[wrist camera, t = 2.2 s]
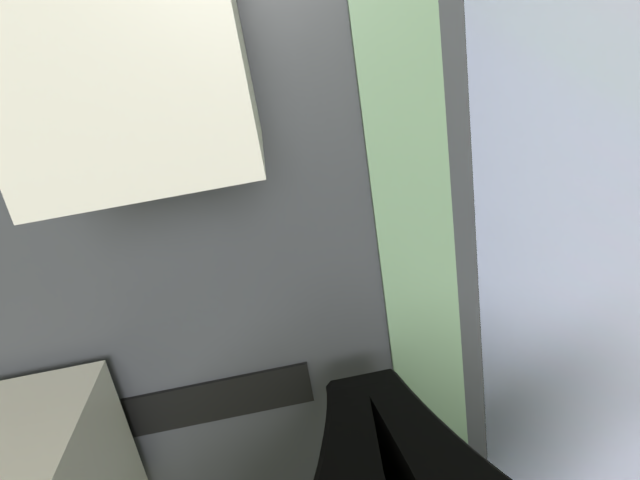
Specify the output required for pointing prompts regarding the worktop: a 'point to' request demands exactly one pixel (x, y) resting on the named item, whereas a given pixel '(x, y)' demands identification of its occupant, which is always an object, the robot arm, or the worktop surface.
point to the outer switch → (122, 104)
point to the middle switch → (66, 427)
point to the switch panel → (280, 255)
